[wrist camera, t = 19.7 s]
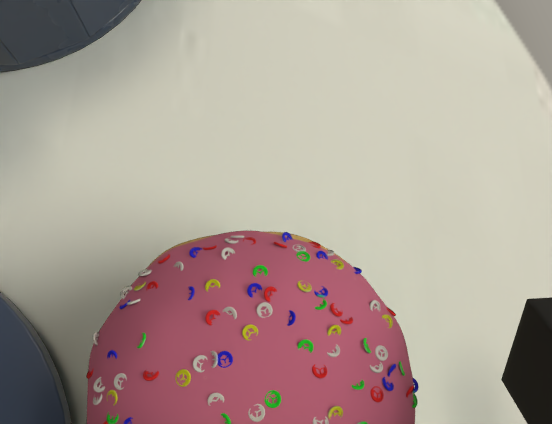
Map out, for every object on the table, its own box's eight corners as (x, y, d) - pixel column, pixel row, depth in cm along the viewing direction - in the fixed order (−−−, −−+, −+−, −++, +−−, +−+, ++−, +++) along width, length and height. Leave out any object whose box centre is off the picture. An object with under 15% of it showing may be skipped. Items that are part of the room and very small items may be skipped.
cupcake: (336, 548, 16) (562, 1090, 4) (88, 469, 16) (-318, 785, 5) (394, 293, 18) (647, 206, 7) (177, 227, 18) (51, 32, 7)
